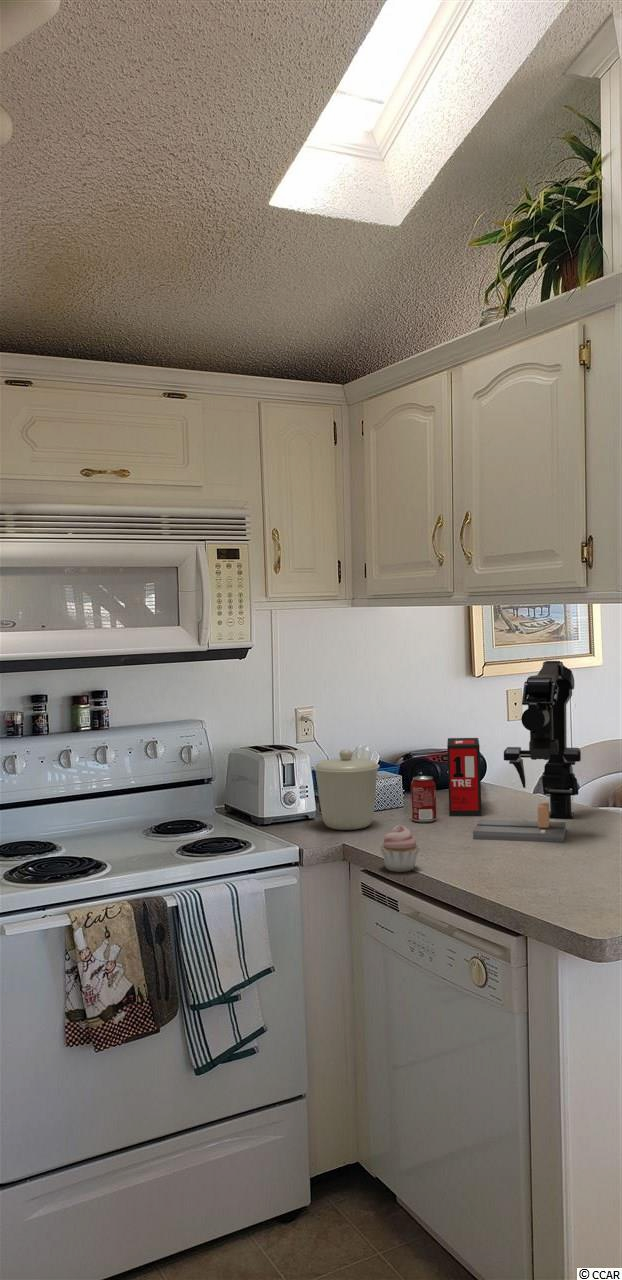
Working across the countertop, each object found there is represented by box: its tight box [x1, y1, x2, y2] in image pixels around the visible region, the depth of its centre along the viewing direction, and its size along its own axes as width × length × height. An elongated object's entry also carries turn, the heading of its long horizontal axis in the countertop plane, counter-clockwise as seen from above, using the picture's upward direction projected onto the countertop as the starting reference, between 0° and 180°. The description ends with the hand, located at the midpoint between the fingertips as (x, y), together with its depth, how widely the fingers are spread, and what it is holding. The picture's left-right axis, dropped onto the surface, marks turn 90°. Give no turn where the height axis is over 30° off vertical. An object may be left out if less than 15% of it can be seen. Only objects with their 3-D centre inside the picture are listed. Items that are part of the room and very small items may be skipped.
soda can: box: [410, 775, 437, 824], centre depth 258 cm, size 7×7×12 cm
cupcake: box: [378, 823, 421, 873], centre depth 209 cm, size 9×9×10 cm
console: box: [472, 818, 567, 843], centre depth 238 cm, size 14×22×2 cm, turn 72°
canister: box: [312, 748, 381, 831], centre depth 254 cm, size 18×18×21 cm
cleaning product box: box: [446, 737, 482, 817], centre depth 270 cm, size 16×9×20 cm, turn 171°
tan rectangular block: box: [537, 802, 551, 828], centre depth 236 cm, size 6×2×6 cm, turn 162°
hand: (543, 788), depth 236 cm, fingers open, 9 cm apart
